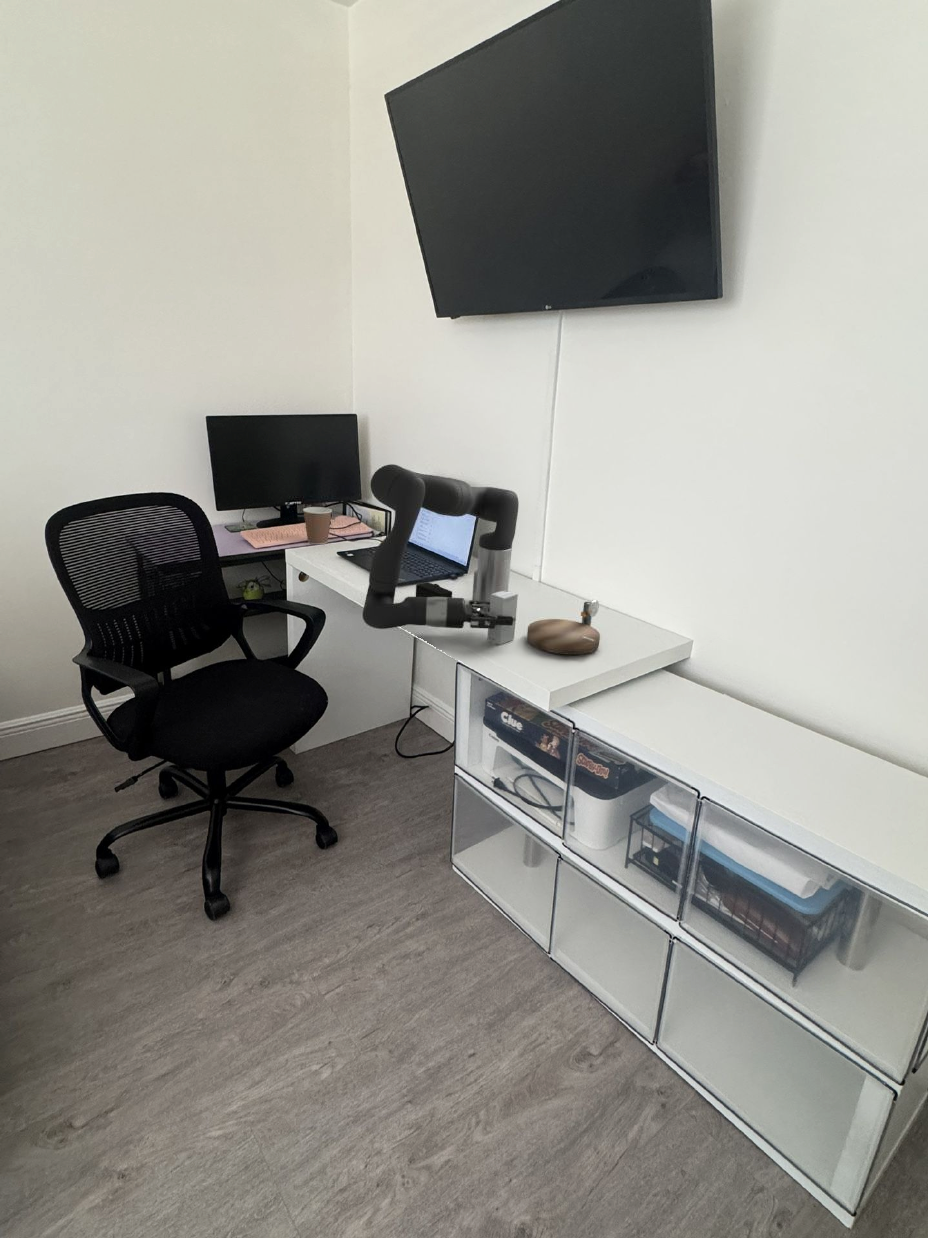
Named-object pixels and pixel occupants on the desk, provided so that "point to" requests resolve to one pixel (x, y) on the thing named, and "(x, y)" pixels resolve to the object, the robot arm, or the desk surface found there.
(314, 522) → the coffee cup
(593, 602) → the post with glass disc
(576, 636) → the turntable
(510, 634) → the skincare box
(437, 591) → the digital camera
